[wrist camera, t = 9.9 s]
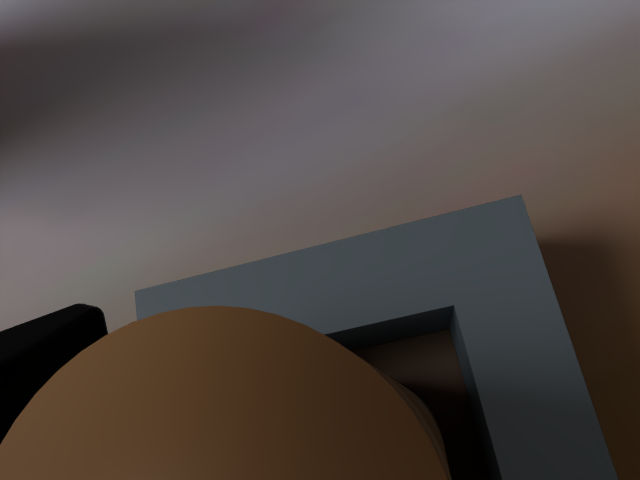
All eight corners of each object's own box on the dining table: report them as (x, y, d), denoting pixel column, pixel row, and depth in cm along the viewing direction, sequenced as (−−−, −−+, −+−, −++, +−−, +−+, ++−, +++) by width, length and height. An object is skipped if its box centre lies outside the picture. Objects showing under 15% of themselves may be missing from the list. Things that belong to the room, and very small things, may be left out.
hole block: (621, 618, 14) (693, 698, 10) (240, 674, 15) (174, 764, 11) (502, 242, 17) (521, 194, 13) (197, 315, 18) (134, 290, 14)
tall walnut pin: (470, 463, 15) (610, 691, 3) (366, 542, 15) (85, 1089, 3) (391, 356, 16) (267, 213, 4) (295, 428, 16) (-107, 491, 4)
